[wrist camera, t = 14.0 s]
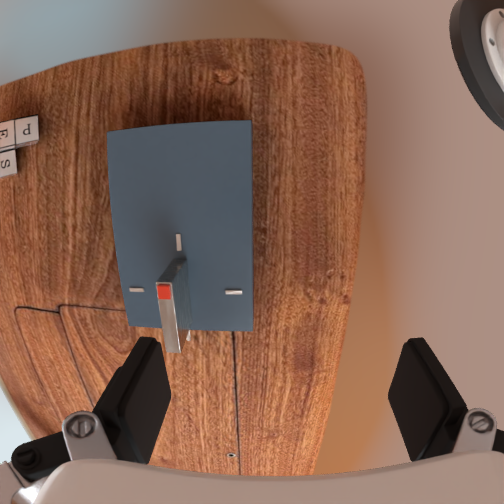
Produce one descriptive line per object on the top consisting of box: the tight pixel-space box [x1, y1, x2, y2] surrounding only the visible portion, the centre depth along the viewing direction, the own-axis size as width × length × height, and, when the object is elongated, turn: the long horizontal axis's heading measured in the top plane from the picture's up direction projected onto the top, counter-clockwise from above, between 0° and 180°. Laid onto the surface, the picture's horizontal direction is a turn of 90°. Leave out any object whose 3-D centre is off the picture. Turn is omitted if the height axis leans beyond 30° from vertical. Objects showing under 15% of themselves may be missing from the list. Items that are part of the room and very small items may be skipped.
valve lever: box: [156, 259, 193, 353], centre depth 24 cm, size 6×1×5 cm, turn 0°
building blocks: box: [0, 114, 39, 179], centre depth 23 cm, size 5×5×8 cm
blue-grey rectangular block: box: [107, 120, 254, 341], centre depth 27 cm, size 19×12×3 cm, turn 0°
